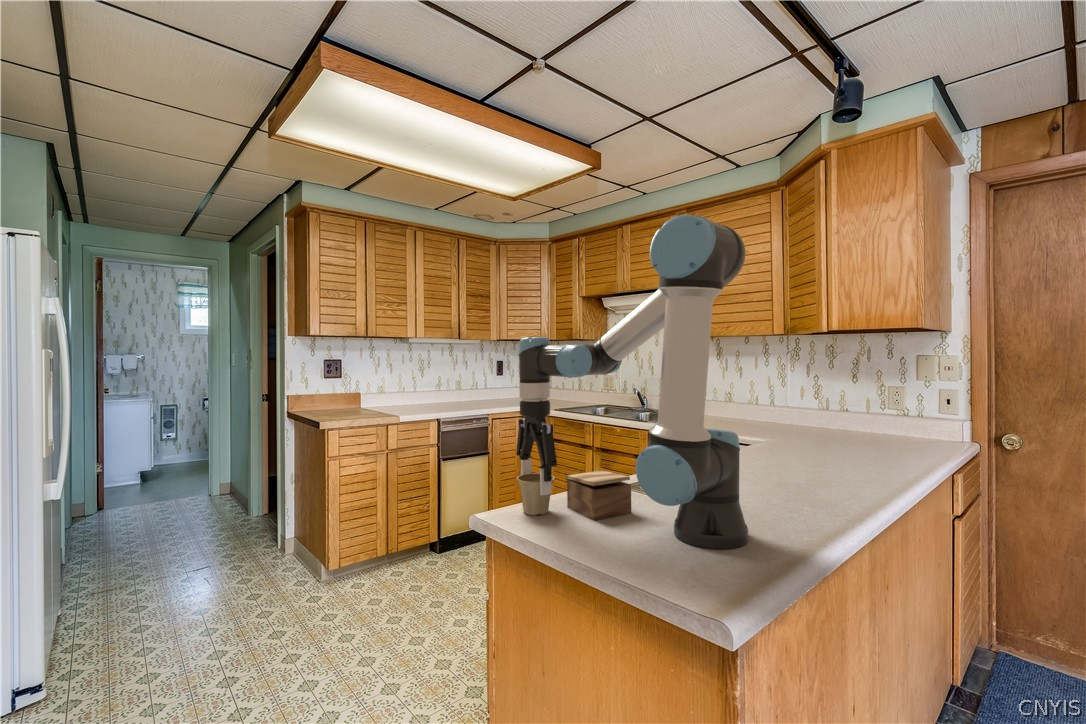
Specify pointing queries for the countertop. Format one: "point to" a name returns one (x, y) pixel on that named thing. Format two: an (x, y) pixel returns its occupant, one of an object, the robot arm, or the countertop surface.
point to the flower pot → (533, 494)
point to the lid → (597, 478)
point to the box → (599, 499)
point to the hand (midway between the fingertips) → (535, 489)
